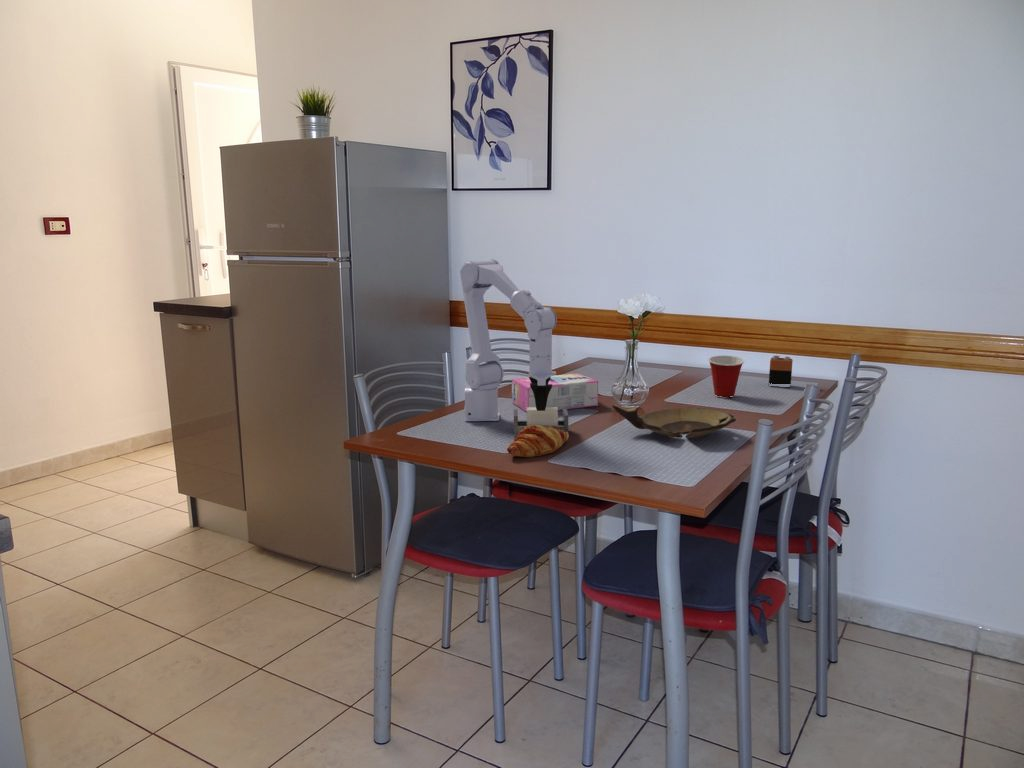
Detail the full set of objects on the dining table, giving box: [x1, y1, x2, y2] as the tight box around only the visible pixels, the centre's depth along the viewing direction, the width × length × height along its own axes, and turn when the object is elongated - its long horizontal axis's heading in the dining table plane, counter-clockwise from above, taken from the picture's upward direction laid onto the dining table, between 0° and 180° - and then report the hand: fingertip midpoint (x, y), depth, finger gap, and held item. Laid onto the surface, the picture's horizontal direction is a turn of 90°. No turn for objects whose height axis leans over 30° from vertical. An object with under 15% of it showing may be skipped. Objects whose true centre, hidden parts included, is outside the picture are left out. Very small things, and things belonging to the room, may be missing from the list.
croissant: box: [506, 425, 569, 458], centre depth 191 cm, size 21×10×8 cm, turn 137°
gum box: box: [511, 372, 599, 413], centre depth 235 cm, size 24×8×14 cm
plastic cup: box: [708, 355, 745, 397], centre depth 244 cm, size 11×11×12 cm
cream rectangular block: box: [526, 407, 559, 426], centre depth 205 cm, size 8×3×6 cm, turn 90°
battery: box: [768, 355, 793, 385], centre depth 257 cm, size 4×7×10 cm, turn 68°
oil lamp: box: [612, 404, 737, 439], centre depth 204 cm, size 22×30×8 cm
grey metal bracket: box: [513, 408, 569, 438], centre depth 205 cm, size 14×7×6 cm, turn 90°
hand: (540, 406), depth 204 cm, fingers open, 7 cm apart
